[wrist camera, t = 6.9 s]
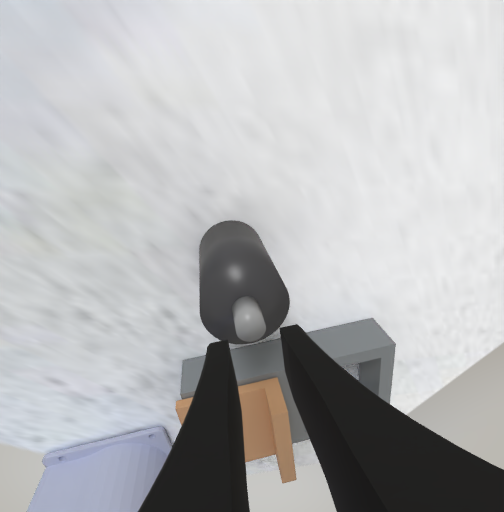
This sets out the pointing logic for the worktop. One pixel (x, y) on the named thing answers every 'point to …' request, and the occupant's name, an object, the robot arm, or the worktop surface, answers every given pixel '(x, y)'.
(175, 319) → the worktop surface
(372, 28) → the worktop surface
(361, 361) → the socket block
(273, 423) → the tan l-shaped bracket
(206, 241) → the plug
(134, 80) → the worktop surface
